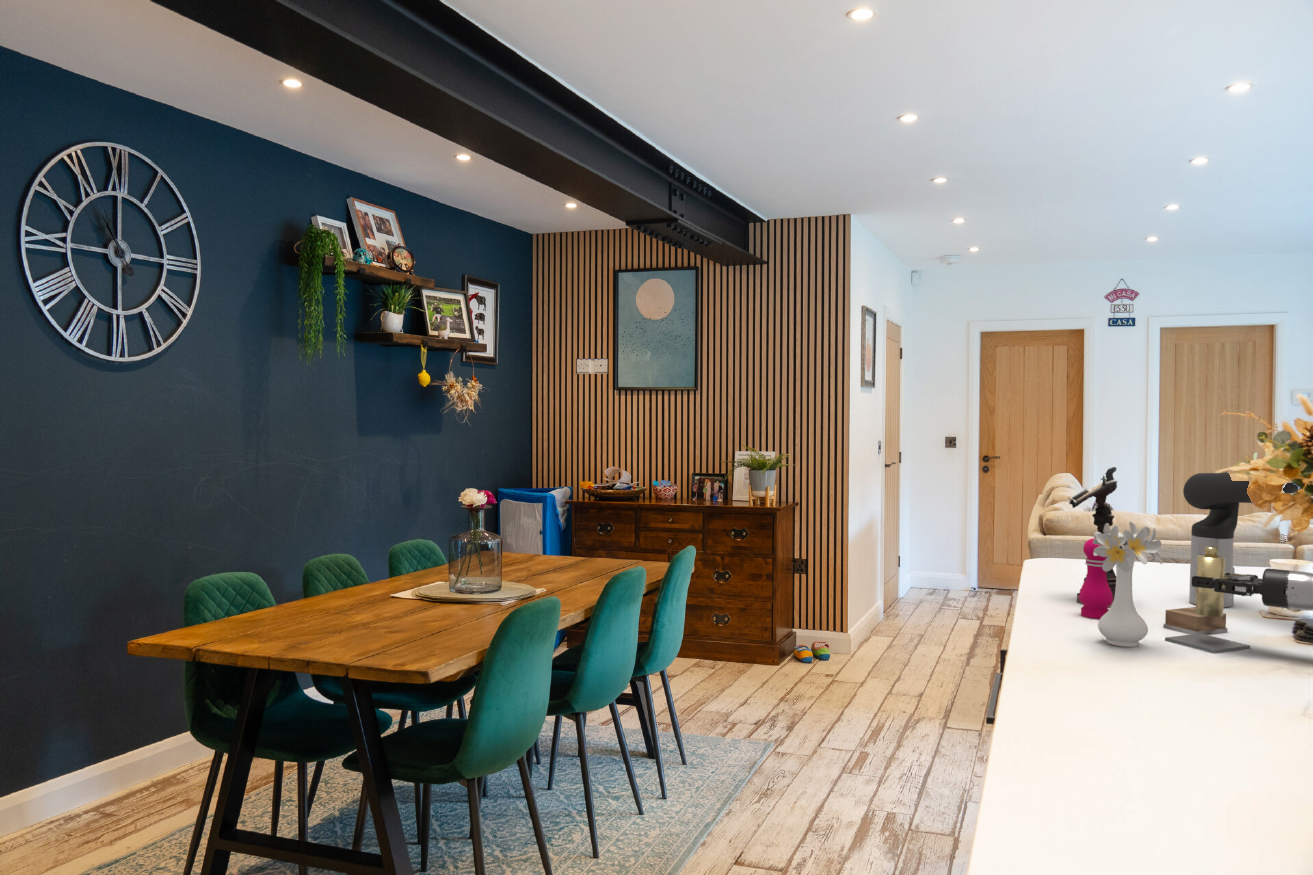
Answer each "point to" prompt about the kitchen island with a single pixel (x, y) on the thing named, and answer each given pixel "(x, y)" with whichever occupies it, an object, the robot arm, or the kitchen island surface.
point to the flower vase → (1124, 581)
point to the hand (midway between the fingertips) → (1195, 579)
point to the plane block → (1193, 622)
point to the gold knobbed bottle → (1206, 597)
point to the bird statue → (1100, 514)
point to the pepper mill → (1095, 584)
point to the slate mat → (1207, 643)
